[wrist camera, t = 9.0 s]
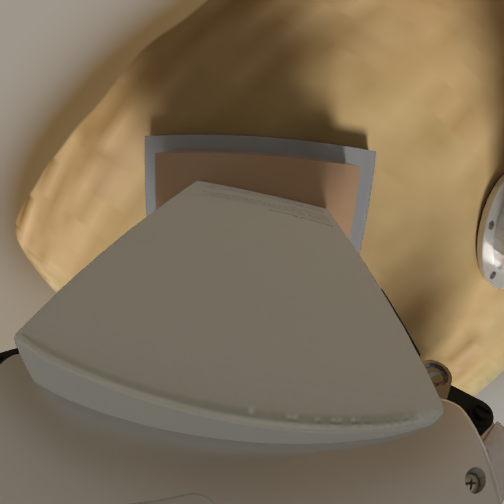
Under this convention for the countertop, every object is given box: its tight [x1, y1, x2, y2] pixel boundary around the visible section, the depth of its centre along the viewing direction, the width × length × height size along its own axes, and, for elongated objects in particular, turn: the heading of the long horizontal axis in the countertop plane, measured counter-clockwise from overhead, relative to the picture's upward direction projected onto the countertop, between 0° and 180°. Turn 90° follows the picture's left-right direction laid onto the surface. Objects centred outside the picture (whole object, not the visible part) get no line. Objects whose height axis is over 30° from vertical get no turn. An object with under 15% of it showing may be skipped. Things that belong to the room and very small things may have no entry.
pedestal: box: [145, 135, 376, 254], centre depth 18 cm, size 15×13×4 cm
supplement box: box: [14, 181, 444, 444], centre depth 10 cm, size 7×7×13 cm
